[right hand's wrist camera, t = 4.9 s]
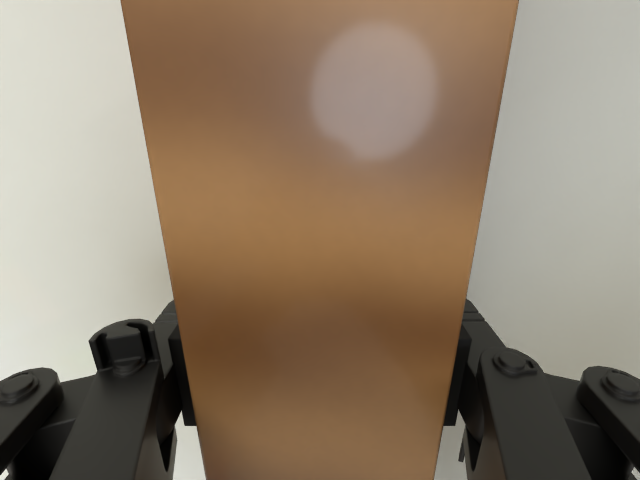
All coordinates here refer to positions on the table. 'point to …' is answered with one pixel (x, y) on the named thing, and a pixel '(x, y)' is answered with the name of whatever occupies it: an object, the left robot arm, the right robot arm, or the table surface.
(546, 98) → the table surface
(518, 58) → the table surface
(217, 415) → the post
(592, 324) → the table surface
